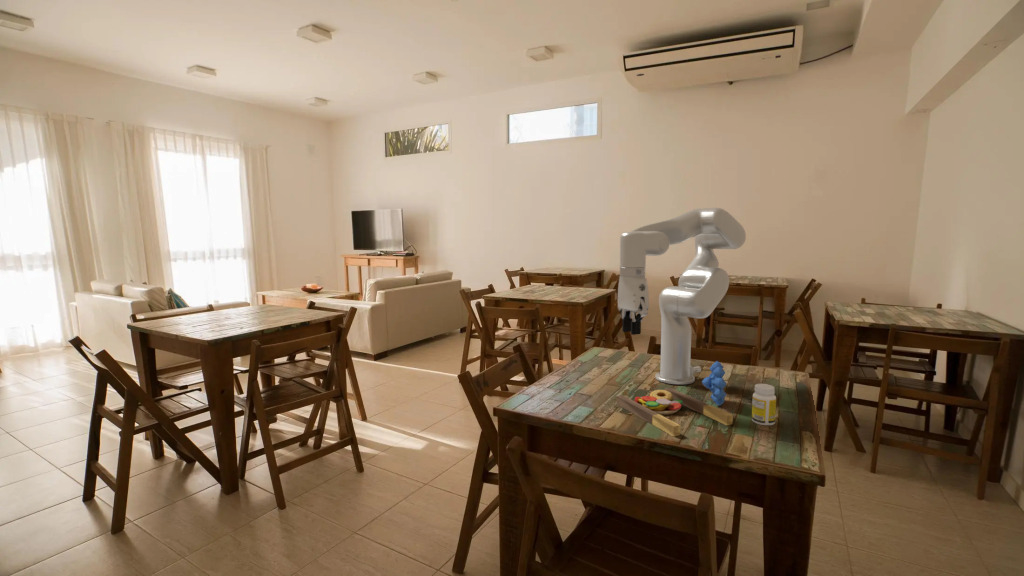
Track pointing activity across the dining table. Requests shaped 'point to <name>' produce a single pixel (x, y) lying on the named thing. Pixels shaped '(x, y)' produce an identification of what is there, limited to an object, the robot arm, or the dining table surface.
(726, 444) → the dining table surface
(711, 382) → the grapes
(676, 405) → the toy food set
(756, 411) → the supplement bottle
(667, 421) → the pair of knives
